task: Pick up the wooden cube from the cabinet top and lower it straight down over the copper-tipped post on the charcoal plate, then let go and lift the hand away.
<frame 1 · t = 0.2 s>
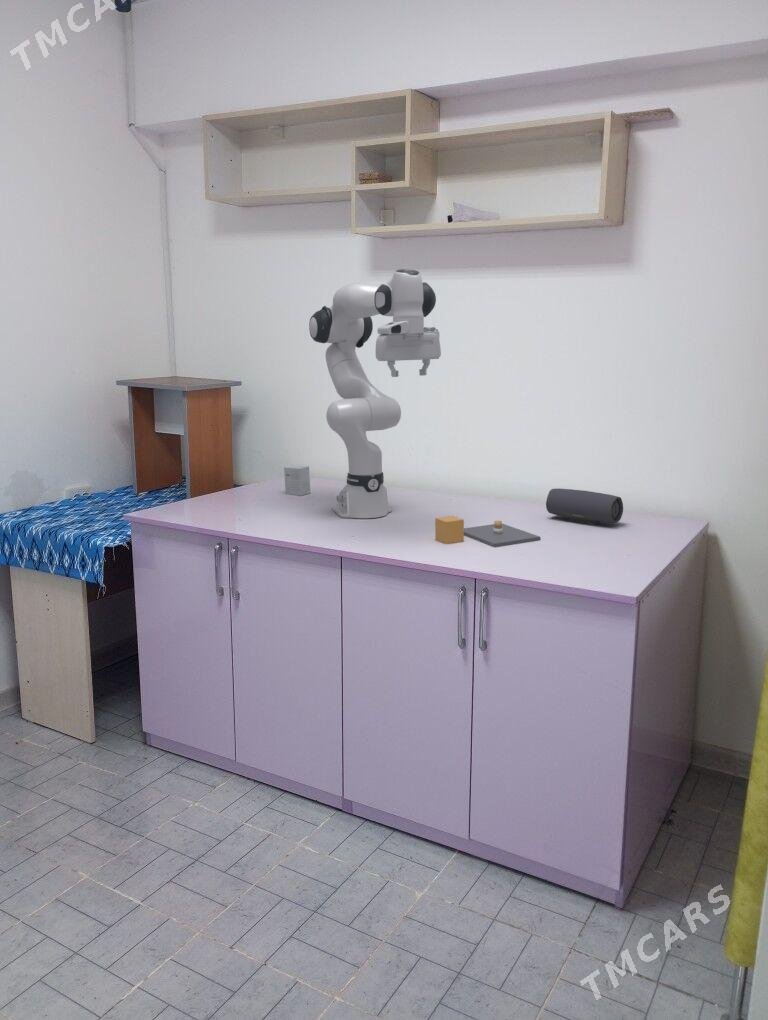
hand: (409, 376, 242), 47 cm above the cabinet, fingers open, 8 cm apart
bluetooth speaker: (583, 522, 264), on the cabinet
small box: (297, 494, 317), on the cabinet
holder: (497, 536, 247), on the cabinet
wooden cube: (449, 540, 244), on the cabinet
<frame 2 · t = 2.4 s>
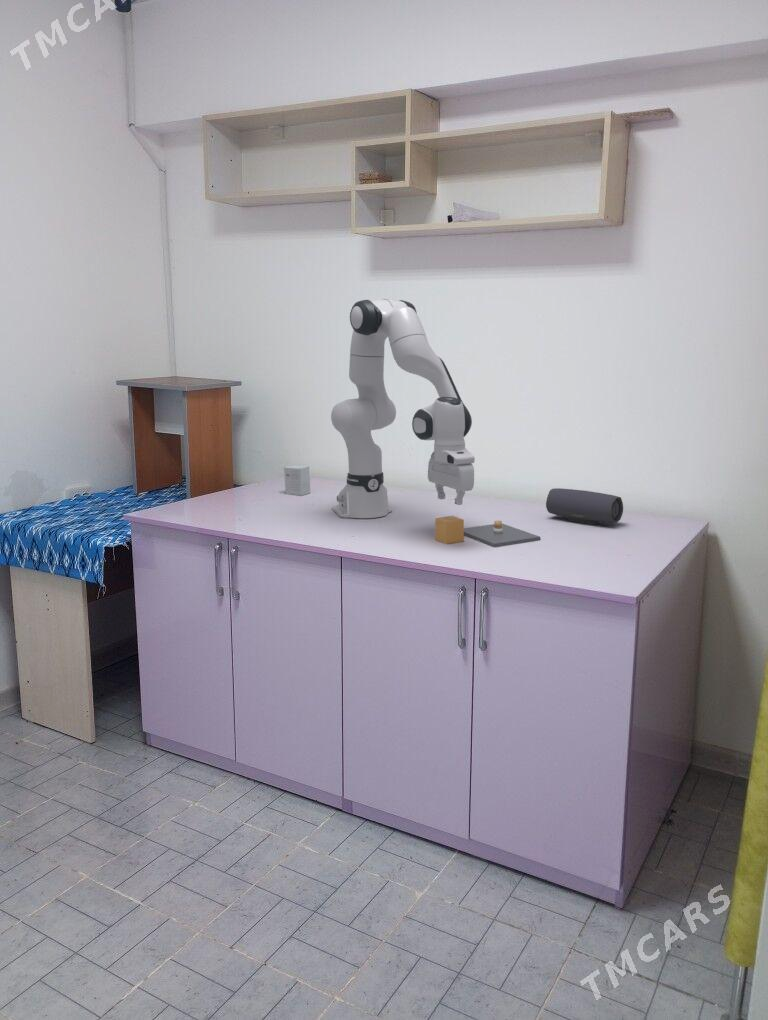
hand: (449, 501, 241), 12 cm above the cabinet, fingers open, 8 cm apart
nothing on the cabinet moved.
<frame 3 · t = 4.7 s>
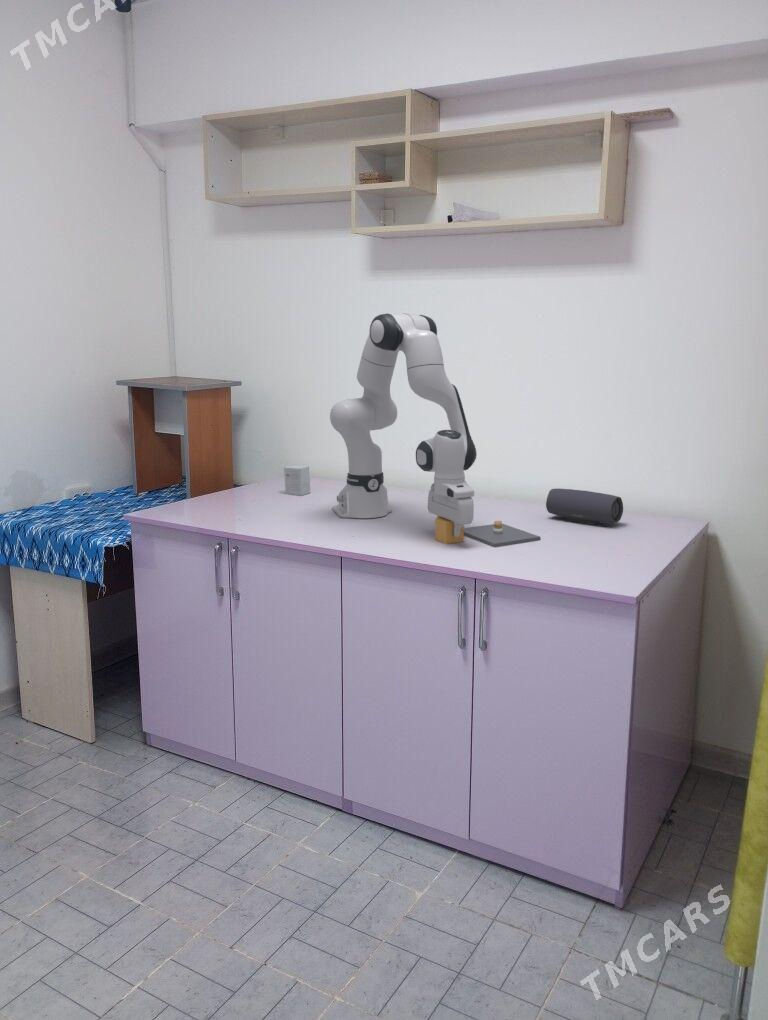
hand: (449, 533, 243), 2 cm above the cabinet, fingers closed on wooden cube, 6 cm apart
wooden cube: (449, 540, 244), on the cabinet, touching gripper
everything else where it was.
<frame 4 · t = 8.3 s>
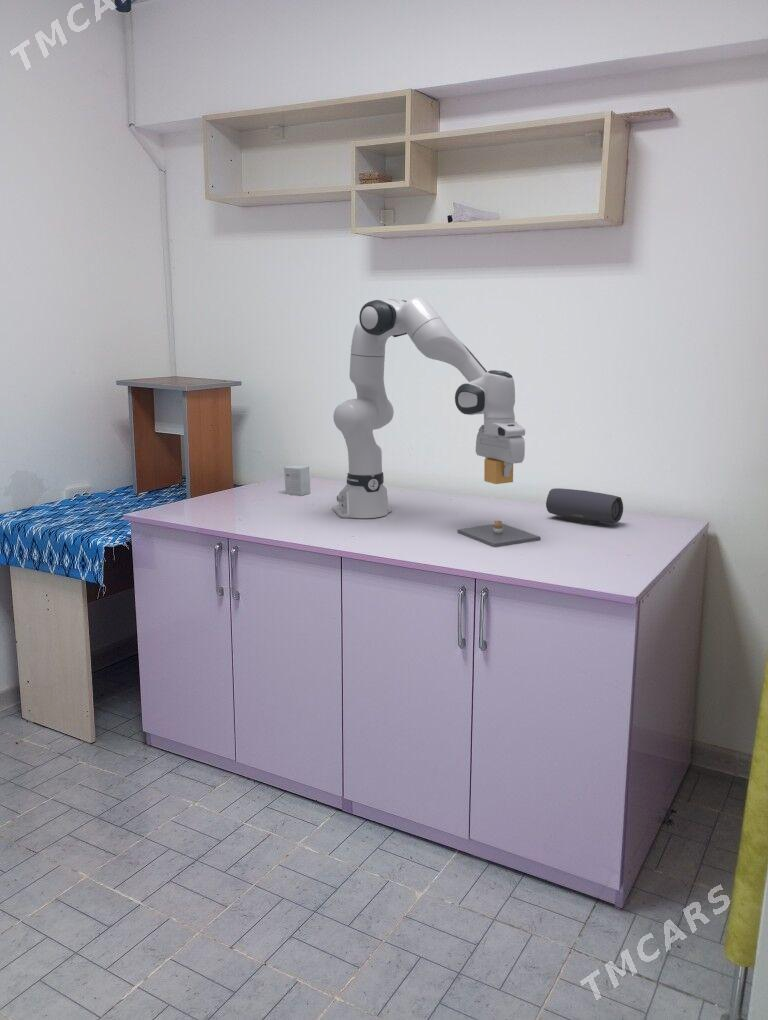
hand: (498, 474, 243), 19 cm above the cabinet, fingers closed on wooden cube, 6 cm apart
wooden cube: (498, 481, 244), point 17 cm above the cabinet, touching gripper
everything else where it was.
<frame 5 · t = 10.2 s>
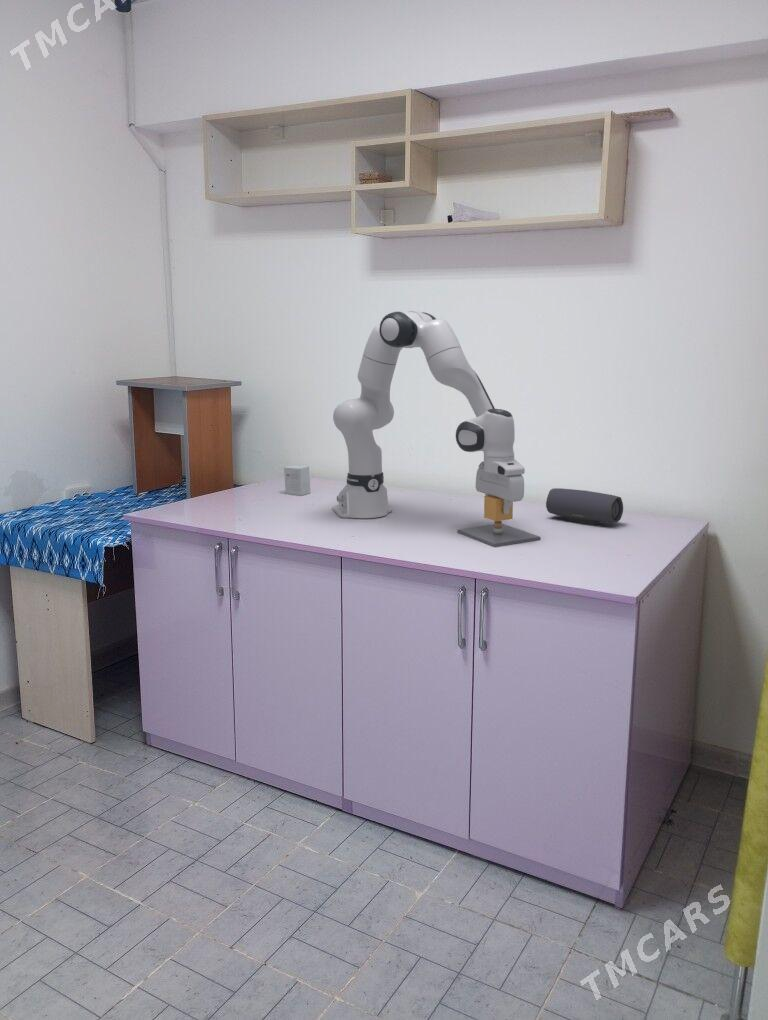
hand: (498, 511, 246), 8 cm above the cabinet, fingers closed on wooden cube, 6 cm apart
wooden cube: (498, 518, 246), point 5 cm above the cabinet, touching gripper
everything else where it was.
when the fingers open (5 cm above the cabinet, at t = 11.8 s): wooden cube drops 1 cm, resting on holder.
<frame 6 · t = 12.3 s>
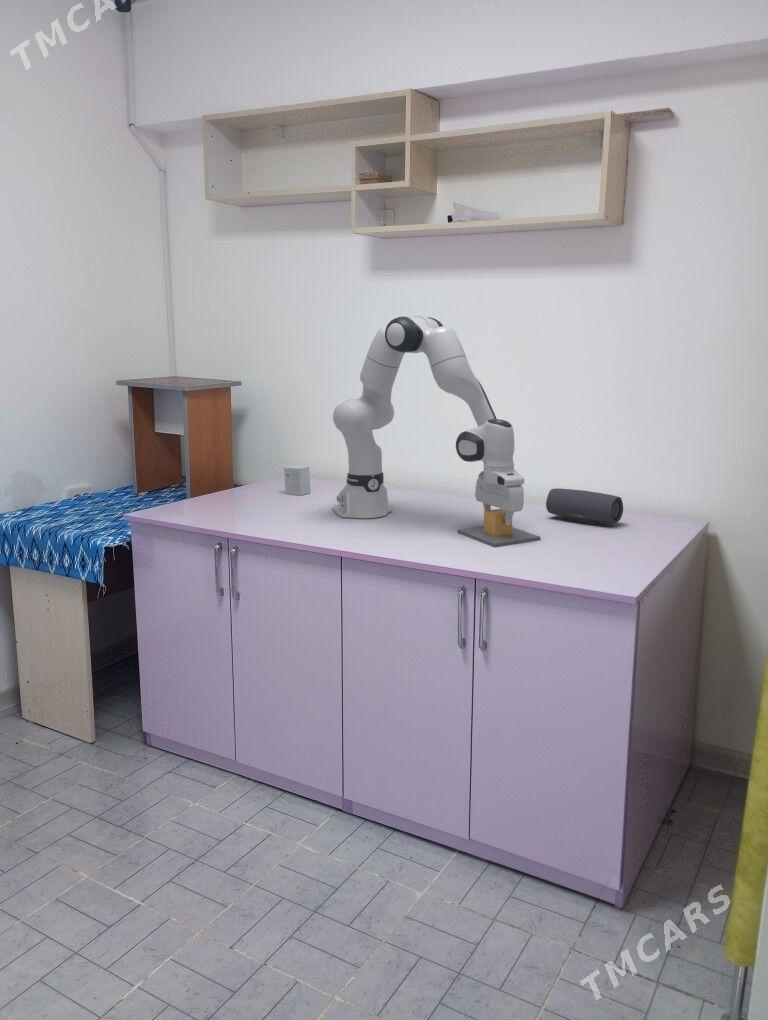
hand: (498, 521, 246), 5 cm above the cabinet, fingers open, 8 cm apart
wooden cube: (497, 532, 247), point 1 cm above the cabinet, touching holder
everything else where it was.
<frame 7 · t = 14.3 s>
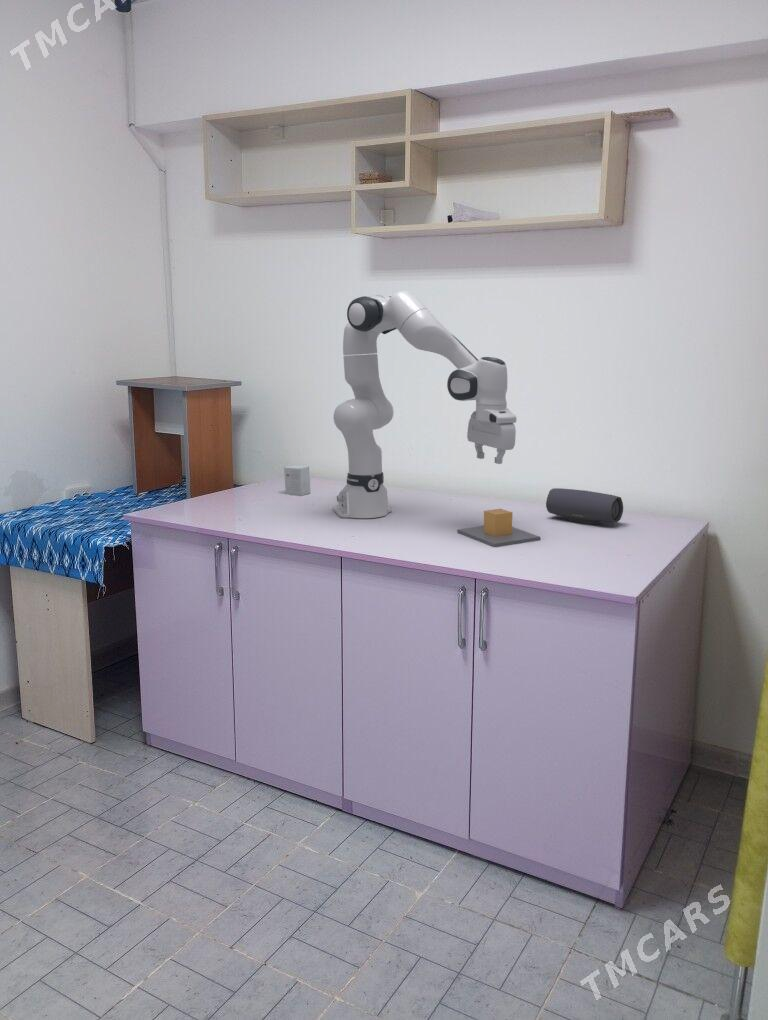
hand: (489, 460, 245), 22 cm above the cabinet, fingers open, 8 cm apart
nothing on the cabinet moved.
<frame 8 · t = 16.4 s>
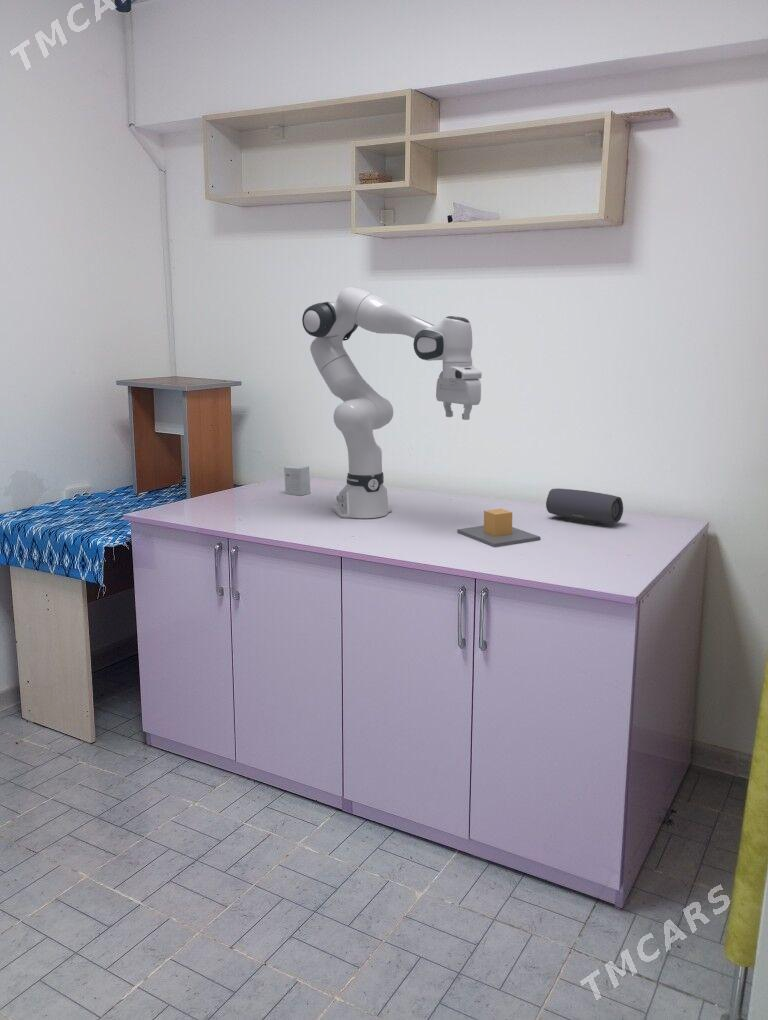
hand: (457, 418, 251), 34 cm above the cabinet, fingers open, 8 cm apart
nothing on the cabinet moved.
at the end: wooden cube 0.0 cm off-centre on the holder, point 1.0 cm above the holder's base; wooden cube tilted 0°; the gripper is holding nothing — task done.
